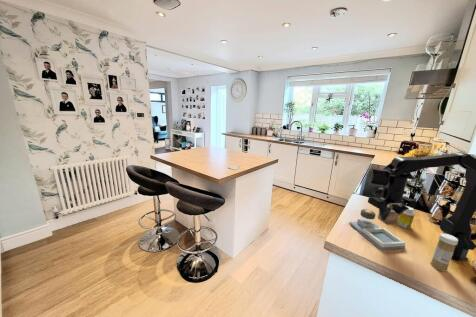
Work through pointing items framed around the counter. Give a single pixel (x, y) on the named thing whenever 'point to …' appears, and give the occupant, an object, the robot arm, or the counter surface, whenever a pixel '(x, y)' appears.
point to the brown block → (390, 218)
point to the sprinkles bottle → (444, 251)
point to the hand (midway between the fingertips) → (387, 219)
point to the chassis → (377, 235)
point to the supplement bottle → (406, 218)
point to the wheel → (367, 214)
